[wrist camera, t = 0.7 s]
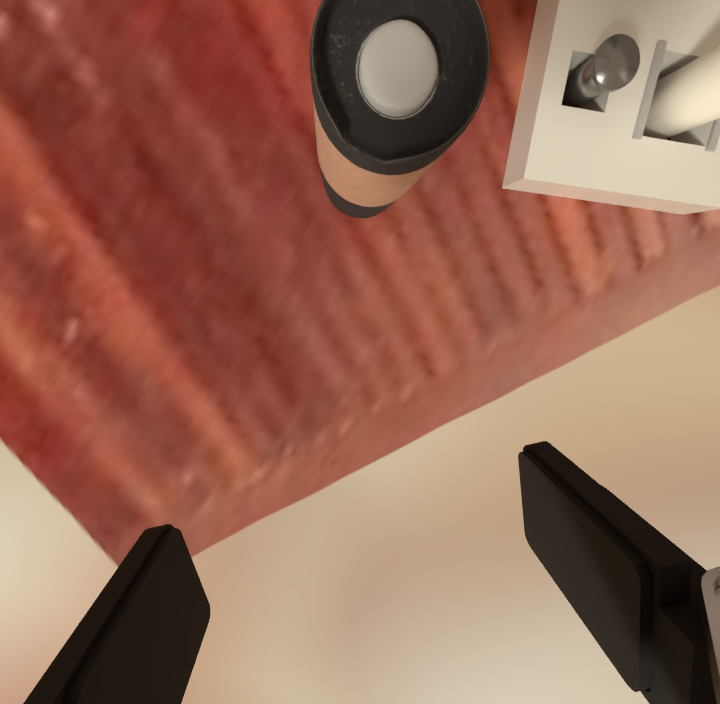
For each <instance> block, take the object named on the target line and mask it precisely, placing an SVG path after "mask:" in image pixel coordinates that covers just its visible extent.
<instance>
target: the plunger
mask: <svg viewBox="0 0 720 704" xmlns="http://www.w3.org/2000/svg"><path fill="white" fill-rule="evenodd" d="M639 64H640V51H639V48H638V45H637V43H636V42H635V40H634V39H633V38H631V37H630V36H628V35H626V34H615V35H613V36H611V37H609V38H608V39H606V40H605V41H604V42H603V43H602V44H601V45H600V46H599V47H598V48H597V50H596V51H595V53H594V55H593V58H591V59H590V60H589V61H588V62H586V63H585V64H584V65H583V66H581V67H580V68H579V69H578V70H576V71H575V72H574V73H573V74H571V75H570V76H569V77H568V78H567V81H566V85H565V90H564V95H563V99H562V105H563V106H569V107H575V108H581V107H583V106H584V105H586V104H588V103H589V102H591V101H592V100H594V99H596V98H597V97H599V96H600V95H602V94H603V93H605V92H613V91H617V90H619V89H621V88H623V87H624V86H626V85H627V84H629V83H630V82H631V81H632V79H633V78H634V77H635V75H636V73H637V71H638V68H639Z"/></svg>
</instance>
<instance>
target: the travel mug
mask: <svg viewBox="0 0 720 704" xmlns="http://www.w3.org/2000/svg"><path fill="white" fill-rule="evenodd" d="M489 63H490V46H489V37H488V31H487V26H486V22H485V19H484V15H483V12H482V10H481V7H480V5H479V3H478V0H322V2H321V5H320V7H319V9H318V12H317V15H316V19H315V22H314V25H313V31H312V37H311V46H310V69H311V82H312V93H313V105H314V117H315V128H316V140H317V152H318V159H319V164H320V169H321V173H322V178H323V182H324V186H325V189H326V192H327V195H328V197H329V198H330V200H331V202H332V203H333V204H334V206H335V207H336V208H337V209H339V210H340V211H341V212H343V213H344V214H346V215H348V216H351V217H355V218H368V217H372V216H375V215H377V214H379V213H380V212H382V211H384V210H385V209H386V208H388V207H389V206H390V205H391V204H393V203H394V202H395V201H396V200H398V199H399V198H400V197H401V196H403V195H404V194H405V193H406V192H407V191H408V190H409V189H410V188H411V187H412V186H413V185H414V184H415V183H416V182H417V180H418V179H419V178H420V177H421V176H422V175H423V174H424V173H425V172H426V171H427V170H428V169H429V168H430V167H431V166H432V165H433V164H434V163H435V161H436V160H437V159H438V158H439V157H440V156H441V155H442V154H443V153H444V152H445V151H446V150H447V149H448V148H449V147H450V146H451V145H452V144H453V143H454V142H455V140H456V139H457V138H458V137H459V136H460V135H461V134H462V133H463V132H464V130H465V129H466V127H467V126H468V125H469V123H470V122H471V120H472V119H473V117H474V115H475V113H476V111H477V109H478V107H479V105H480V103H481V100H482V98H483V95H484V91H485V88H486V84H487V80H488V73H489Z"/></svg>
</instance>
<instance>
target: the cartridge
mask: <svg viewBox="0 0 720 704" xmlns="http://www.w3.org/2000/svg"><path fill="white" fill-rule="evenodd" d="M719 118H720V46H718V47H717V48H715V49H713V50H711V51H710V52H708V53H706V54H704V55H703V56H701V57H699V58H697V59H696V60H694V61H692V62H690V63H689V64H687V65H685V66H683V67H682V68H680V69H678V70H676V71H674V72H673V73H671V74H669V75H667V76H666V77H664V78H662V79H660V80H659V81H657V83H656V87H655V91H654V95H653V98H652V102H651V106H650V110H649V113H648V117H647V121H646V125H645V128H644V132H643V136H646V137H652V138H657V139H663V140H664V139H667V138H669V137H672V136H675V135H677V134H680V133H683V132H685V131H688V130H690V129H693V128H696V127H698V126H701V125H703V124H706V123H709V122H711V121H714V120H717V119H719Z"/></svg>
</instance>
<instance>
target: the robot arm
mask: <svg viewBox="0 0 720 704" xmlns="http://www.w3.org/2000/svg"><path fill="white" fill-rule="evenodd" d="M518 460H519V470H520V483H521V495H522V506H523V518H524V529H525V536H526V539H527V541H528V543H529V545H530V547H531V549H532V550H533V551H534V553H535V554H536V556H537V557H538V559H539V560H540V561H541V563H542V564H543V566H544V567H545V569H546V570H547V571H548V573H549V574H550V576H551V577H552V578H553V580H554V581H555V583H556V584H557V586H558V587H559V588H560V590H561V591H562V593H563V594H564V595H565V597H566V598H567V600H568V601H569V603H570V604H571V606H572V607H573V608H574V610H575V611H576V613H577V614H578V615H579V617H580V618H581V620H582V621H583V623H584V624H585V625H586V627H587V628H588V629H589V631H590V632H591V634H592V635H593V637H594V638H595V640H596V641H597V642H598V644H599V645H600V647H601V648H602V650H603V651H604V652H605V654H606V655H607V657H608V658H609V659H610V661H611V662H612V664H613V665H614V666H615V668H616V669H617V671H618V672H619V674H620V675H621V677H622V678H623V679H624V681H625V682H626V683H627V685H628V686H629V687H630V688H631V689H632V690H633V691H635V692H638V691H641V692H642V694H643V695H644V697H645V698H646V699H647V701H648V702H649V703H650V704H720V567H716V568H713V569H710V570H708V571H706V570H705V569H704V568H703V567H702V566H700V565H699V564H698V563H697V562H695V561H694V560H693V559H692V558H690V557H689V556H688V555H687V554H686V553H684V552H683V551H682V550H681V549H680V548H678V547H677V546H676V545H675V544H673V543H672V542H671V541H670V540H669V539H667V538H666V537H665V536H664V535H662V534H661V533H660V532H659V531H658V530H656V529H655V528H654V527H653V526H651V525H650V524H649V523H648V522H647V521H645V520H644V519H643V518H642V517H640V516H639V515H638V514H637V513H635V512H634V511H633V510H632V509H631V508H629V507H628V506H627V505H626V504H625V503H623V502H622V501H621V500H620V499H618V498H617V497H616V496H615V495H614V494H612V493H611V492H610V491H609V490H607V489H606V488H604V487H603V486H601V485H599V484H598V483H597V482H596V481H595V480H594V479H592V478H591V477H590V476H589V475H588V474H586V473H585V472H584V471H583V470H581V469H580V468H579V467H578V466H577V465H575V464H574V463H573V462H572V461H571V460H569V459H568V458H567V457H566V456H564V455H563V454H562V453H561V452H559V451H558V450H557V449H556V448H555V447H553V446H552V445H551V444H550V443H548V442H547V441H543V442H539V443H534V444H530V445H525V447H524V448H523V452H520V453H519V455H518ZM209 619H210V605H209V602H208V599H207V597H206V594H205V592H204V589H203V587H202V584H201V582H200V579H199V577H198V574H197V572H196V569H195V566H194V564H193V561H192V559H191V556H190V554H189V551H188V548H187V546H186V543H185V541H184V538H183V536H182V533H181V531H180V530H179V529H177V528H175V529H174V527H173V526H172V525H170V524H167V525H162V526H158V527H153V528H149V529H146V530H145V531H144V532H143V533H142V534H141V536H140V537H139V539H138V540H137V542H136V543H135V544H134V546H133V547H132V549H131V550H130V552H129V553H128V554H127V556H126V557H125V559H124V560H123V562H122V563H121V564H120V566H119V567H118V569H117V570H116V572H115V573H114V574H113V576H112V578H111V579H110V580H109V582H108V583H107V585H106V586H105V587H104V589H103V590H102V592H101V593H100V595H99V596H98V598H97V599H96V600H95V602H94V603H93V605H92V606H91V608H90V609H89V610H88V612H87V613H86V615H85V616H84V618H83V619H82V620H81V622H80V623H79V625H78V626H77V628H76V629H75V630H74V632H73V633H72V635H71V636H70V638H69V639H68V640H67V642H66V643H65V645H64V646H63V648H62V649H61V650H60V652H59V653H58V655H57V656H56V658H55V659H54V660H53V662H52V663H51V665H50V666H49V668H48V669H47V671H46V672H45V673H44V675H43V676H42V678H41V679H40V681H39V682H38V684H37V685H36V686H35V688H34V689H33V691H32V692H31V693H30V695H29V696H28V698H27V699H26V701H25V702H24V703H23V704H181V702H182V699H183V696H184V693H185V690H186V687H187V685H188V682H189V678H190V676H191V672H192V670H193V667H194V664H195V661H196V658H197V655H198V652H199V649H200V646H201V643H202V640H203V637H204V635H205V632H206V629H207V626H208V623H209Z"/></svg>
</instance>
